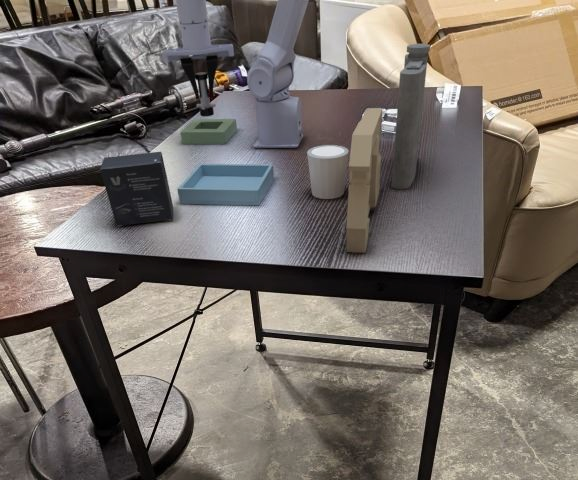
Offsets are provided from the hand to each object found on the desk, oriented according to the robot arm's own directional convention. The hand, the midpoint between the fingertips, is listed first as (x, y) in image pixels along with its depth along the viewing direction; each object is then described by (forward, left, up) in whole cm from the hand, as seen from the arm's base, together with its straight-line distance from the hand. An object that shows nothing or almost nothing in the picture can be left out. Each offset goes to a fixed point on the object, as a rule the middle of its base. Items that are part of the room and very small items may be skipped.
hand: (204, 97), depth 114 cm
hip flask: (-44, +21, -8) cm, 49 cm away
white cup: (-31, +31, -8) cm, 45 cm away
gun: (-38, +41, -8) cm, 57 cm away
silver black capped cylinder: (0, 0, -3) cm, 3 cm away
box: (-2, +43, -8) cm, 44 cm away
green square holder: (0, 0, -8) cm, 8 cm away
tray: (-13, +31, -8) cm, 35 cm away
